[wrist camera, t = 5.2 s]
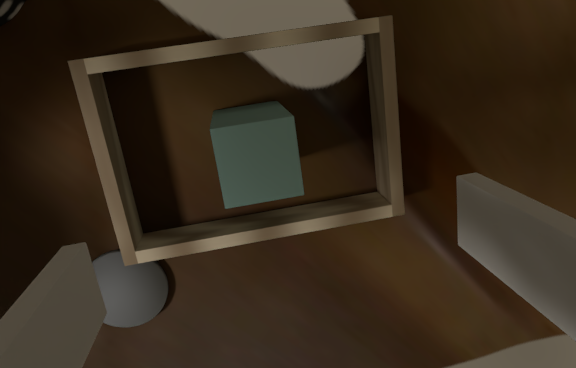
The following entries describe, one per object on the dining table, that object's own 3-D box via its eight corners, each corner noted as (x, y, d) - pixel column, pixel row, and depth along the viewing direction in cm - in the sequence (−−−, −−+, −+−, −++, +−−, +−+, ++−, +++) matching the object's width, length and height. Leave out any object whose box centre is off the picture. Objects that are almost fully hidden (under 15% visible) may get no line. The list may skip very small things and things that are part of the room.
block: (225, 171, 36) (225, 208, 27) (213, 110, 34) (209, 129, 26) (285, 161, 36) (304, 194, 28) (276, 100, 35) (293, 116, 26)
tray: (133, 246, 36) (124, 266, 33) (83, 60, 32) (67, 61, 29) (389, 200, 38) (404, 214, 35) (375, 19, 34) (392, 15, 31)
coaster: (94, 330, 38) (92, 334, 37) (71, 257, 36) (69, 261, 35) (176, 314, 39) (175, 318, 38) (158, 242, 37) (157, 245, 36)
